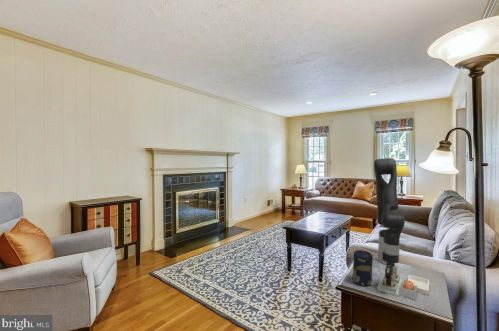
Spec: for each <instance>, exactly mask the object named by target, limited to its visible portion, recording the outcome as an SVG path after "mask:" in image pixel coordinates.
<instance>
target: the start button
mask: <svg viewBox="0 0 499 331" xmlns="http://www.w3.org/2000/svg"><path fill="white" fill-rule="evenodd" d="M403 282H404V288H407V289H411V290H413V286H414V283H413V282H411V281H407V280H403Z"/></svg>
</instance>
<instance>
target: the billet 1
mask: <svg viewBox="0 0 499 331" xmlns="http://www.w3.org/2000/svg"><path fill="white" fill-rule="evenodd" d="M391 273H392V272H391ZM387 276H388V275H387ZM394 276H395V271H393V275H392V279H391V286H388V285H386V278H385V280H384V285H385V286H388V287H392V288H393V287H394Z"/></svg>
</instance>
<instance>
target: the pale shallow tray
mask: <svg viewBox="0 0 499 331" xmlns="http://www.w3.org/2000/svg"><path fill="white" fill-rule="evenodd" d="M406 281H411V282H413V283H414V286H417V294H421V295H423V296H424V295H425V296H428V297H429V295H430V294H429V293H430V292H429V291H430V280H429V279H427V278H424V277H419V276H416V275H412V274H408V276H407V280H406Z"/></svg>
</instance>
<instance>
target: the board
mask: <svg viewBox="0 0 499 331" xmlns="http://www.w3.org/2000/svg"><path fill="white" fill-rule="evenodd" d="M384 280H385V273H382V276H381V277H380V280H379V282H378V284H377V287H376V290H377V291H380V292H383V293H385V294H389V295H392V296H396V297H400V295H399V293H400V285H401V282H404V279H403V278H401V275H400V274H397V279H394V287H393V288H392V287H388V286H385V285H384Z"/></svg>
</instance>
